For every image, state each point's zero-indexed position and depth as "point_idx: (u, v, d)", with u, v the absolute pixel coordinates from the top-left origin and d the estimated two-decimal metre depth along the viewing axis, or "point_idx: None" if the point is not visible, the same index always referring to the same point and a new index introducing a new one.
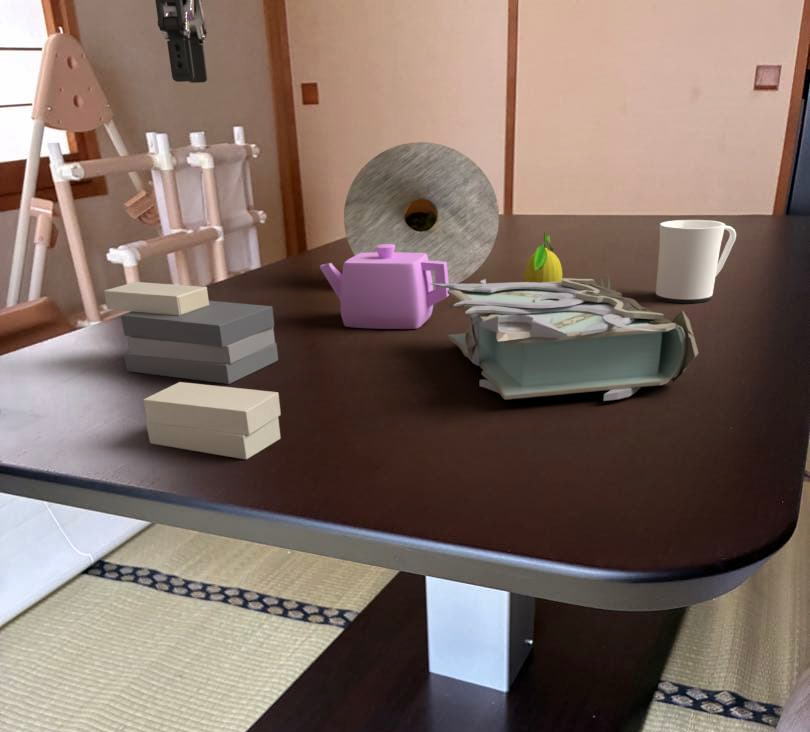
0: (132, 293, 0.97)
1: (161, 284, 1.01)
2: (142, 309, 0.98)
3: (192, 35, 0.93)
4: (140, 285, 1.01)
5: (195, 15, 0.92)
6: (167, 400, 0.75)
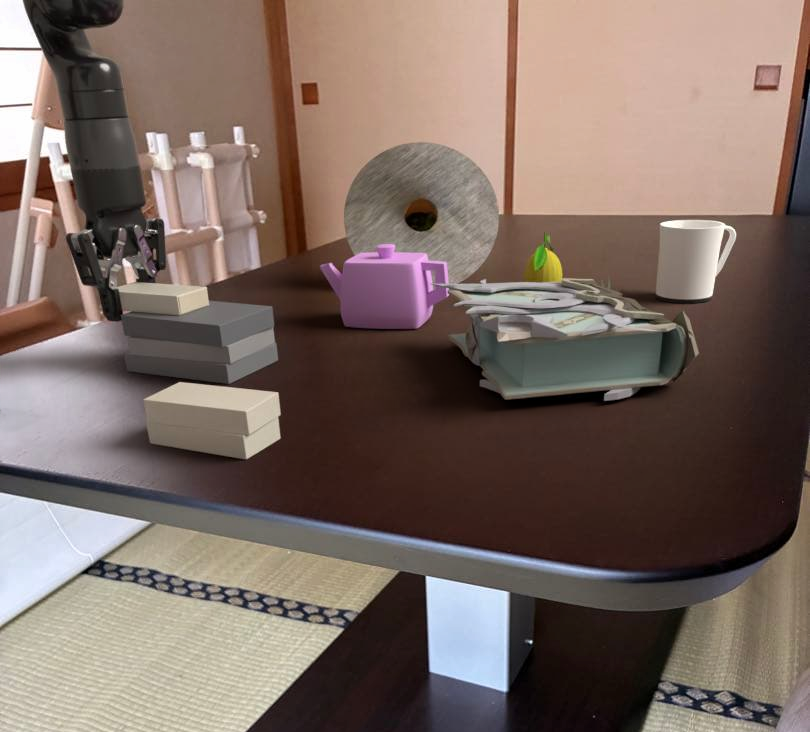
0: (132, 293, 0.97)
1: (161, 284, 1.01)
2: (142, 309, 0.98)
3: None
4: (140, 285, 1.01)
5: None
6: (167, 400, 0.75)
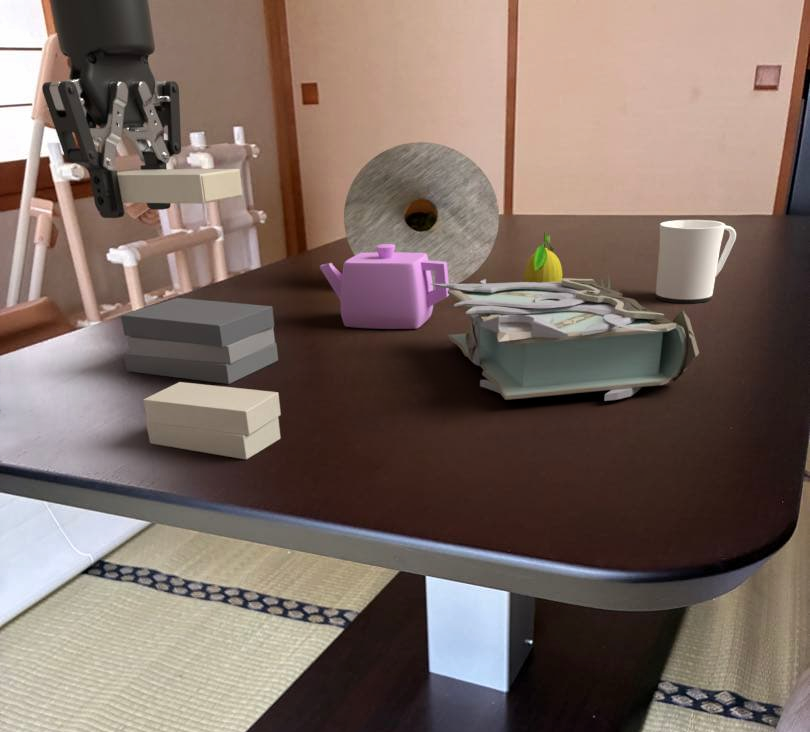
0: (137, 175, 0.70)
1: (176, 169, 0.74)
2: (150, 198, 0.70)
3: None
4: None
5: None
6: (167, 400, 0.75)
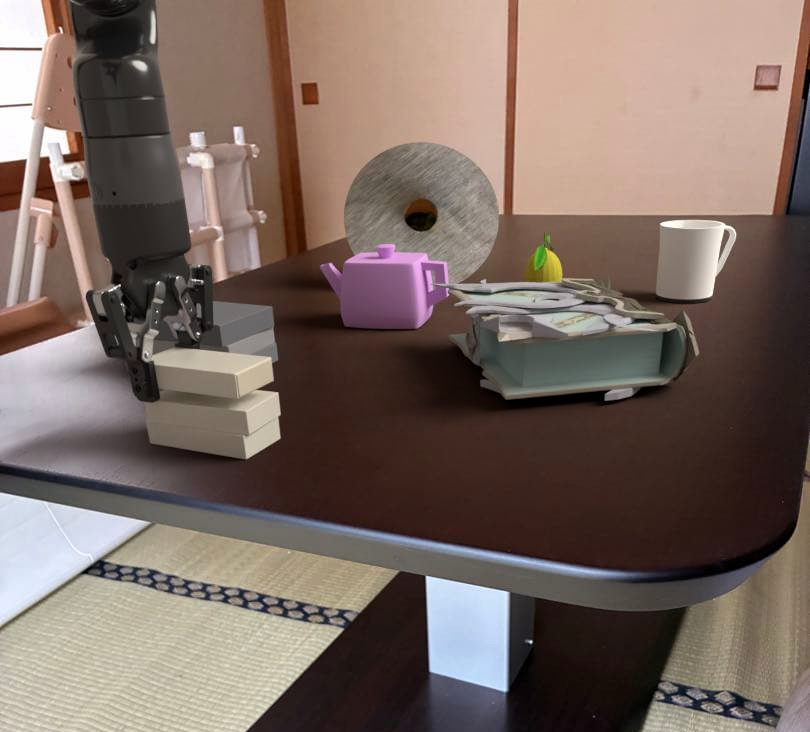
0: (173, 367, 0.73)
1: (209, 352, 0.77)
2: (186, 388, 0.73)
3: None
4: (182, 353, 0.77)
5: None
6: (167, 400, 0.75)
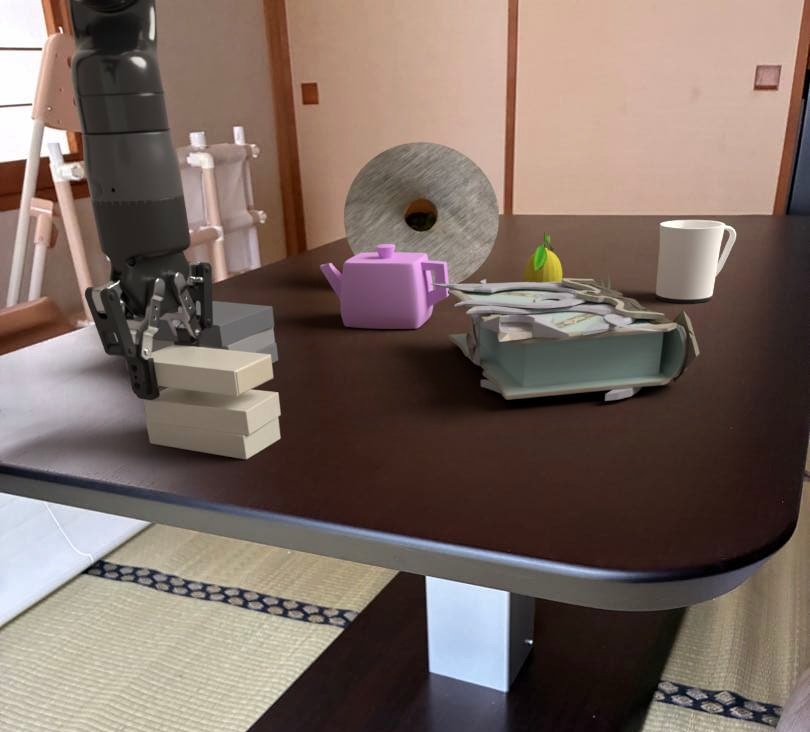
0: (173, 364, 0.73)
1: (209, 349, 0.77)
2: (186, 385, 0.73)
3: None
4: (181, 350, 0.76)
5: (131, 320, 0.73)
6: (167, 400, 0.75)
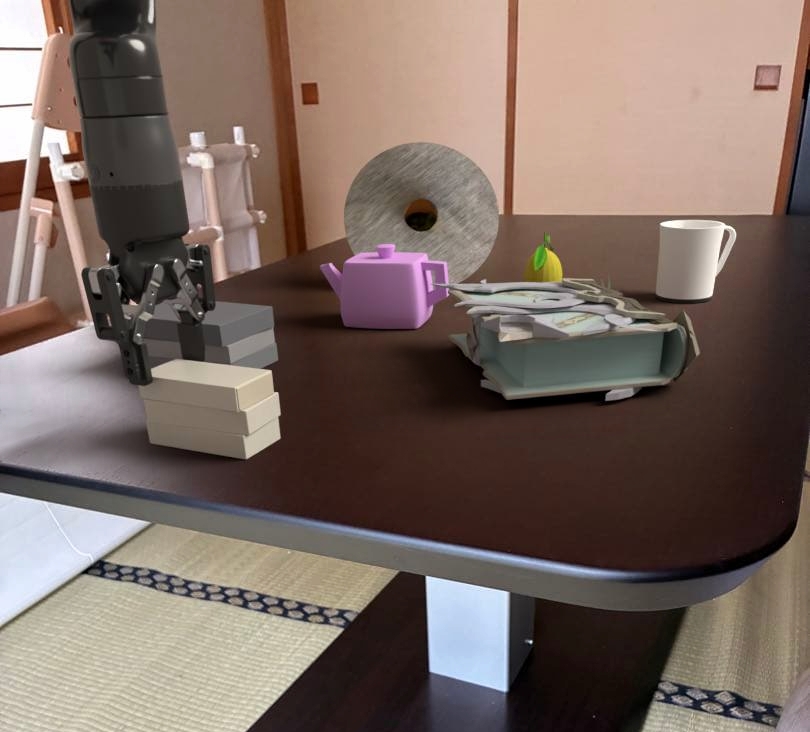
0: (174, 380, 0.74)
1: (211, 364, 0.77)
2: (187, 401, 0.74)
3: None
4: (183, 365, 0.77)
5: None
6: None
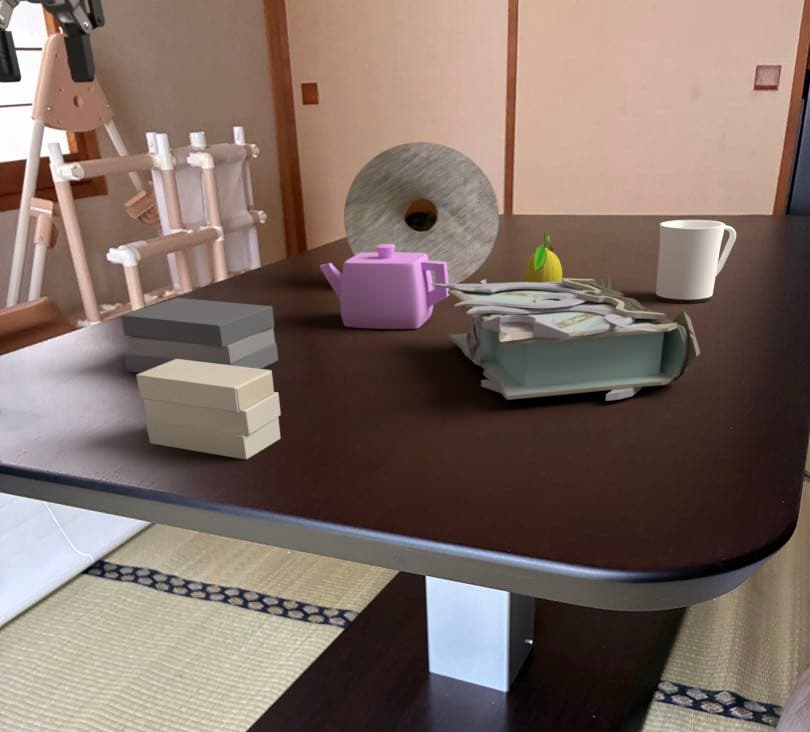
0: (174, 380, 0.74)
1: (211, 364, 0.77)
2: (187, 401, 0.74)
3: None
4: (183, 365, 0.77)
5: None
6: None
